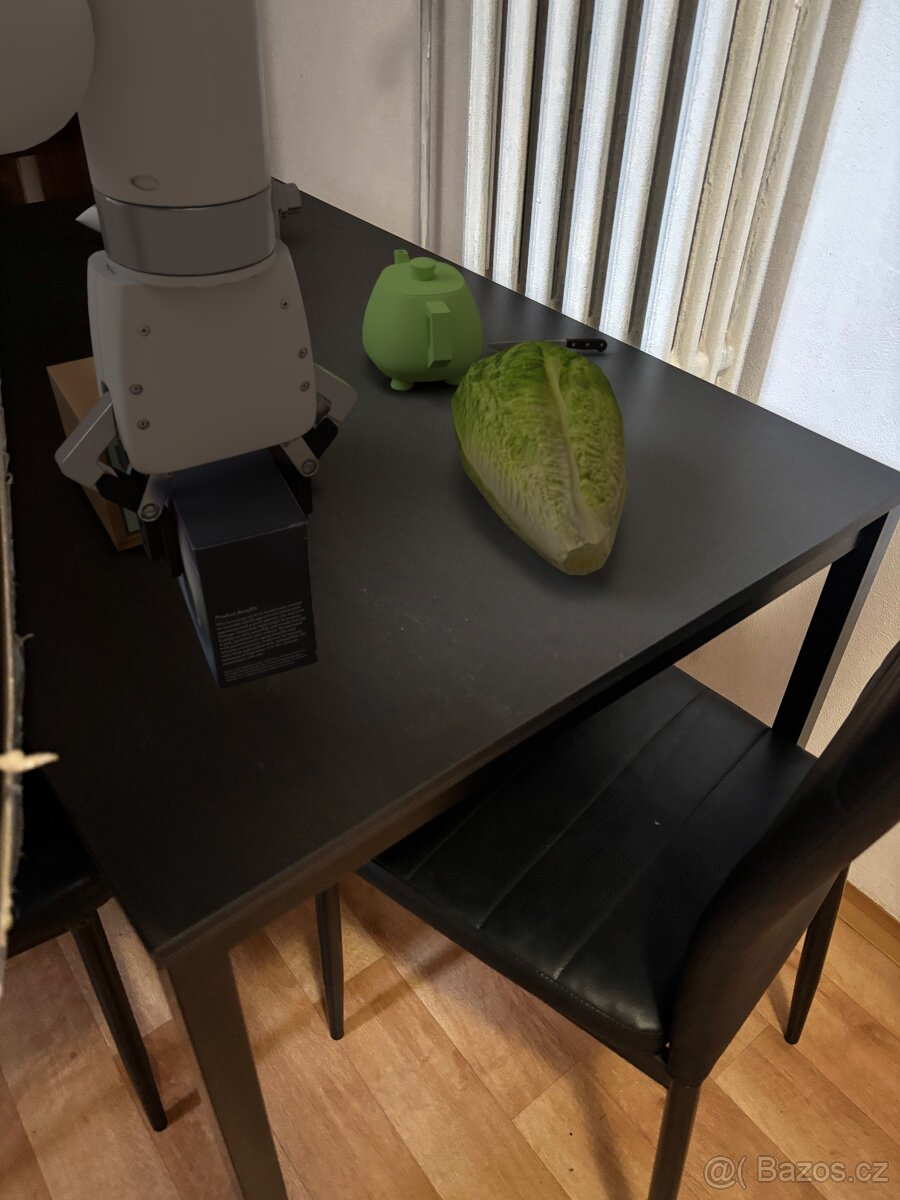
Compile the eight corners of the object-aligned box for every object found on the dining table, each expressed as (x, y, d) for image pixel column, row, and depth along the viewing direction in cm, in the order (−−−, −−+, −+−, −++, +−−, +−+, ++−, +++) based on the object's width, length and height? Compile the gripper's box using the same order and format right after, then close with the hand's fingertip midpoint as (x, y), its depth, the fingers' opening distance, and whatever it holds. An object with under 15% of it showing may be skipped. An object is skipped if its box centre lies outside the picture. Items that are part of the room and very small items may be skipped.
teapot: (349, 336, 111) (344, 231, 102) (455, 326, 113) (459, 223, 105) (382, 418, 96) (379, 303, 88) (502, 405, 99) (511, 292, 91)
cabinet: (118, 551, 78) (85, 430, 70) (79, 483, 86) (46, 366, 78) (308, 492, 86) (298, 376, 78) (257, 434, 93) (243, 323, 85)
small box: (172, 583, 58) (144, 441, 51) (270, 559, 61) (256, 420, 54) (213, 694, 51) (186, 546, 44) (323, 663, 53) (314, 518, 47)
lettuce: (469, 552, 69) (653, 463, 65) (417, 363, 84) (563, 284, 81) (538, 642, 79) (699, 571, 76) (481, 460, 95) (612, 393, 91)
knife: (483, 358, 107) (484, 342, 106) (483, 355, 108) (484, 339, 106) (605, 356, 109) (608, 340, 107) (604, 353, 109) (606, 337, 108)
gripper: (327, 177, 46) (338, 473, 58) (-38, 224, 39) (59, 553, 51) (401, 223, 42) (396, 535, 53) (1, 287, 34) (98, 633, 46)
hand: (232, 541), depth 52 cm, fingers closed on small box, 6 cm apart
